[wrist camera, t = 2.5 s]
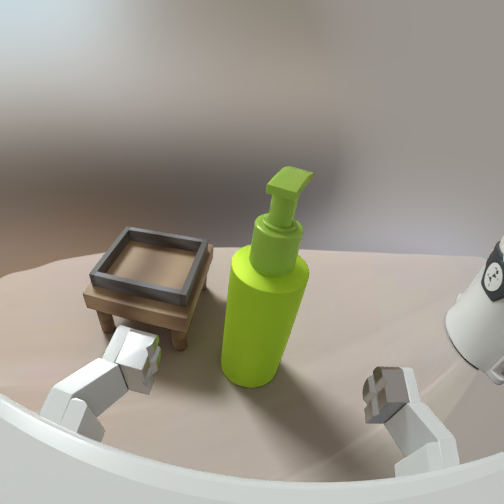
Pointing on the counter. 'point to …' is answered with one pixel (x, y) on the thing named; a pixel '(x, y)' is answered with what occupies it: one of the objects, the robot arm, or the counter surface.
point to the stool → (150, 281)
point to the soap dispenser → (266, 287)
